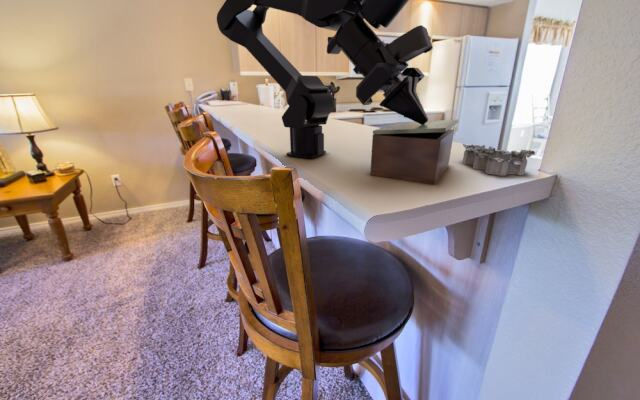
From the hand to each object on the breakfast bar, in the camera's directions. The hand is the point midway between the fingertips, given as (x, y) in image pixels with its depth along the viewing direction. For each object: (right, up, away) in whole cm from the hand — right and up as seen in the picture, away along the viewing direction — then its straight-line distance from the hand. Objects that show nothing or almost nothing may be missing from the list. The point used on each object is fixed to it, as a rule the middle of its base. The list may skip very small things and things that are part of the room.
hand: (425, 122), depth 48 cm
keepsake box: (-1, -7, +4) cm, 8 cm away
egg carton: (+14, -7, +5) cm, 16 cm away
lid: (-1, -1, +1) cm, 2 cm away
